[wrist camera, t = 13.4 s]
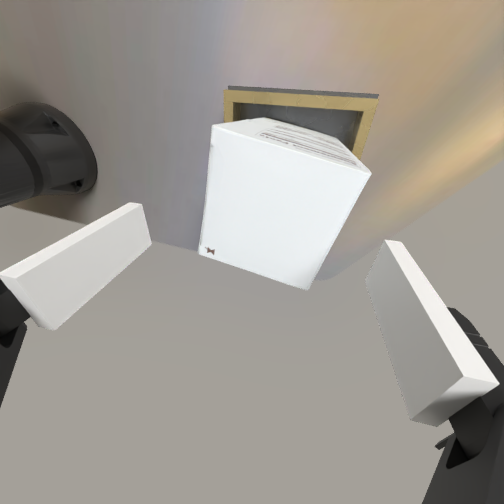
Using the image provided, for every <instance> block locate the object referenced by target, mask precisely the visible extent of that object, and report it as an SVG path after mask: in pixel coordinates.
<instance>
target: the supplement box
mask: <svg viewBox="0 0 504 504" xmlns="http://www.w3.org/2000/svg"><path fill="white" fill-rule="evenodd" d="M370 176H371V172H370V171H369V169H368V168H367V167H366V166H365V165H364V164H363V163H362V162H361V161H360V160H359V159H358V158H357V157H355V156H354V155H353V154H352V153H351V151H349V150H348V149H347V148H346V147H345V146H344V145H343V144H342V143H341V142H340V141H339V140H338V139H337V138H335V137H332V136H329V135H326V134H323V133H320V132H317V131H313V130H310V129H306V128H303V127H299V126H296V125H292V124H289V123H285V122H281V121H278V120H274V119H271V118H267V117H262V118H256V119H251V120H250V119H246V120H241V121H235V122H229V123H222V124H215V125H212V128H211V140H210V153H209V165H208V175H207V187H206V196H205V206H204V214H203V221H202V229H201V236H200V243H199V248H198V254H200V255H202V256H205V257H208V258H211V259H214V260H217V261H220V262H223V263H226V264H229V265H232V266H235V267H238V268H241V269H244V270H247V271H250V272H253V273H256V274H259V275H262V276H265V277H268V278H270V279H274V280H277V281H279V282H282V283H285V284H288V285H291V286H294V287H298V288H301V289H304V290H309V288H310V286H311V284H312V282H313V280H314V278H315V276H316V275H317V273H318V271H319V269H320V267H321V265H322V263H323V261H324V260H325V258H326V256H327V254H328V252H329V250H330V248H331V246H332V245H333V243H334V241H335V239H336V237H337V235H338V234H339V232H340V230H341V228H342V226H343V225H344V223H345V221H346V219H347V217H348V215H349V213H350V212H351V210H352V208H353V206H354V204H355V202H356V201H357V199H358V197H359V195H360V193H361V191H362V190H363V188H364V186H365V184H366V182H367V180H368V179H369V177H370Z"/></svg>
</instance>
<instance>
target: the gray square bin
mask: <svg viewBox="0 0 504 504" xmlns="http://www.w3.org/2000/svg"><path fill="white" fill-rule="evenodd" d="M378 96H379V94H365V93H348V92H330V91H313V90H295V89H278V88H261V87H243V86H228V90H224V123H229V122H235V121H241V120H246V119H250V120H251V119H256V118H262V117H267V118H271V119H274V120H278V121H281V122H285V123H289V124H292V125H296V126H299V127H303V128H306V129H310V130H313V131H317V132H320V133H323V134H326V135H329V136H332V137H335V138H337V139H338V140H339V141H340V142H341V143H342V144H343V145H344V146H345V147H346V148H347V149H348V150H349V151H351V153H352V154H353V155H354V156H355V157H357V158H358V159H359V160H360V158H361V155H362V152H363V149H364V146H365V142H366V139H367V136H368V133H369V130H370V127H371V124H372V120H373V117H374V114H375V111H376V108H377V105H378V101H379V99H378Z"/></svg>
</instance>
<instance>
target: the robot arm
mask: <svg viewBox="0 0 504 504" xmlns="http://www.w3.org/2000/svg"><path fill="white" fill-rule="evenodd" d="M96 176H97V166H96V161H95V157H94V154H93V151H92V149H91V147H90V145H89V143H88V141H87V139H86V138H85V136H84V135H83V133H82V132H81V131H80V129H79V128H78V127H77V126H76V125H75V124H74V122H73V121H72V120H71V119H69V118H68V117H67V116H66V115H65V114H63V113H62V112H61V111H59V110H58V109H56V108H54V107H52V106H50V105H47V104H43V103H20V104H16V105H14V106H12V107H9V108H7V109H4V110H2V111H0V208H1V207H4V206H7V205H11V204H14V203H17V202H20V201H23V200H26V199H29V198H32V197H35V196H38V195H73V194H78V193H80V192H83V191H86V190H88V189H90V188H91V187H92V186H93V185H94V183H95V180H96ZM151 245H152V244H151V239H150V235H149V231H148V227H147V223H146V219H145V215H144V211H143V206H142V204H138V203H131V202H130V203H128V204H126V205H124V206H122V207H120V208H119V209H117V210H115V211H113V212H111V213H109V214H107V215H106V216H104V217H102V218H100V219H98V220H96V221H95V222H93V223H91V224H89V225H87V226H85V227H83V228H82V229H80V230H78V231H76V232H74V233H72V234H70V235H69V236H67V237H65V238H63V239H61V240H60V241H57V242H56V243H54V244H52V245H50V246H48V247H47V248H44V249H43V250H41V251H39V252H37V253H35V254H33V255H32V256H30V257H28V258H26V259H24V260H22V261H20V262H19V263H17V264H15V265H13V266H11V267H9V268H7V269H6V270H4V271H2V272H0V407H1V404H2V401H3V398H4V395H5V392H6V389H7V386H8V383H9V380H10V378H11V375H12V371H13V369H14V366H15V363H16V360H17V357H18V354H19V351H20V348H21V345H22V342H23V339H24V336H25V333H26V331H27V326H26V324H25V323H24V321H26V320H27V319H28V318H30V317H31V318H32V319H33V320H34V322H35V323H36V324H37V325H38V327H42V328H46V329H50V330H56V329H57V328H58V327H59V326H60V325H61V324H63V323H64V322H65V321H66V320H67V319H68V318H69V317H70V316H72V315H73V314H74V313H75V312H76V311H77V310H78V309H80V308H81V307H82V306H83V305H84V304H85V303H86V302H87V301H89V300H90V299H91V298H92V297H93V296H94V295H95V294H96V293H98V292H99V291H100V290H101V289H102V288H103V287H104V286H106V284H108V283H109V282H110V281H111V280H112V279H113V278H115V276H117V275H118V274H119V273H120V272H121V271H122V270H124V269H125V268H126V267H127V266H128V265H129V264H130V263H131V262H133V261H134V260H135V259H136V258H137V257H138V256H139V255H140V254H142V253H143V252H144V251H145V250H146V249H147V248H148V247H150V246H151ZM365 284H366V287H367V290H368V293H369V296H370V299H371V302H372V305H373V308H374V311H375V314H376V317H377V320H378V323H379V326H380V329H381V332H382V335H383V338H384V341H385V344H386V348H387V351H388V354H389V356H390V360H391V363H392V366H393V369H394V372H395V375H396V378H397V381H398V384H399V387H400V390H401V393H402V396H403V399H404V402H405V405H406V408H407V411H408V414H409V417H410V420H412V421H416V422H420V423H424V424H428V425H432V426H436V427H438V426H439V425H440V424H442V423H443V422H445V421H446V420H448V419H449V421H450V423H451V425H452V428H453V429H454V433H453V434H451V435H450V436H448V437H446V438H445V439H443V440H441V441H440V442H438V443H437V444H436V445H435V447H436V448H437V449H439V450H440V449H441V448H443V447H445V448H444V451H443V453H442V456H441V458H440V460H439V463H438V466H437V468H436V471H435V473H434V475H433V478H432V480H431V483H430V485H429V488H428V490H427V493H426V495H425V498H424V500H423V502H422V504H504V366H503V364H502V363H501V362H500V360H499V359H498V358H497V356H496V355H495V354H494V352H493V351H492V350H491V349H489V348H488V345H487V343H486V342H485V340H484V339H483V338H482V337H480V334H479V333H478V331H477V330H476V329H475V327H474V326H473V325H472V323H471V322H470V321H469V320H468V319H467V318H466V317H464V316H463V315H462V314H461V313H460V312H458V311H457V310H456V309H454V308H448V307H446V306H445V304H444V303H443V302H442V300H441V299H440V297H439V296H438V294H437V293H436V291H435V290H434V289H433V287H432V286H431V284H430V283H429V282H428V280H427V278H426V277H425V275H424V274H423V273H422V271H421V270H420V269H419V267H418V266H417V264H416V263H415V261H414V260H413V258H412V257H411V255H410V254H409V253H408V251H407V250H406V248H405V247H404V245H403V244H402V243H401V242H398V241H390V240H384V242H383V244H382V246H381V248H380V250H379V252H378V254H377V257H376V259H375V261H374V263H373V265H372V267H371V269H370V272H369V274H368V276H367V278H366V280H365Z"/></svg>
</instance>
